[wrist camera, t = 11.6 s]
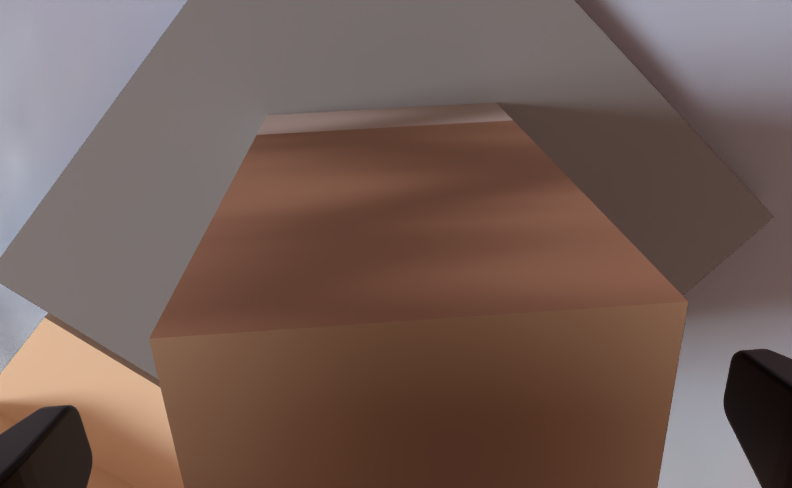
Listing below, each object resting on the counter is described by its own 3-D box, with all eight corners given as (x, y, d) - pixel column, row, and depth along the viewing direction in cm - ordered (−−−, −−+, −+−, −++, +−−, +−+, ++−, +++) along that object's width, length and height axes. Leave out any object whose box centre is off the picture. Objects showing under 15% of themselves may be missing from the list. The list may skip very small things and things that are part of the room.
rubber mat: (757, 207, 15) (774, 217, 14) (405, 513, 18) (407, 531, 17) (358, -225, 11) (358, -234, 10) (1, 263, 14) (-13, 275, 14)
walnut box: (495, 102, 13) (688, 302, 5) (490, 356, 15) (617, 726, 8) (266, 115, 13) (149, 338, 5) (299, 369, 15) (249, 762, 8)
